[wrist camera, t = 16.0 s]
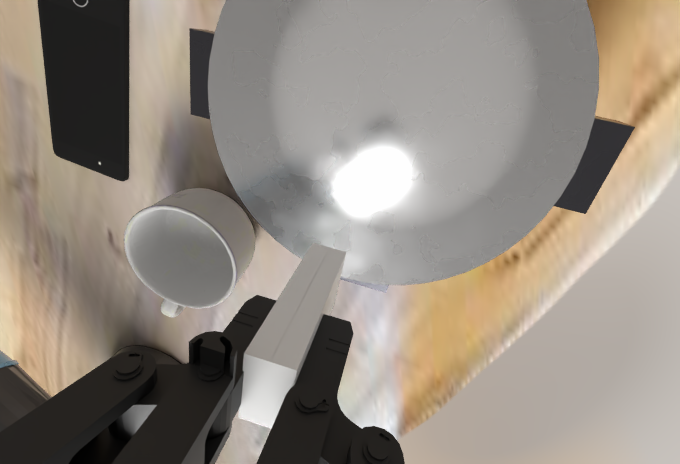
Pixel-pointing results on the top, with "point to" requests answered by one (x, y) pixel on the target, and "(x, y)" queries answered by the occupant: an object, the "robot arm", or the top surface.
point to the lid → (402, 124)
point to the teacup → (190, 248)
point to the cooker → (576, 197)
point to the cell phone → (88, 81)
